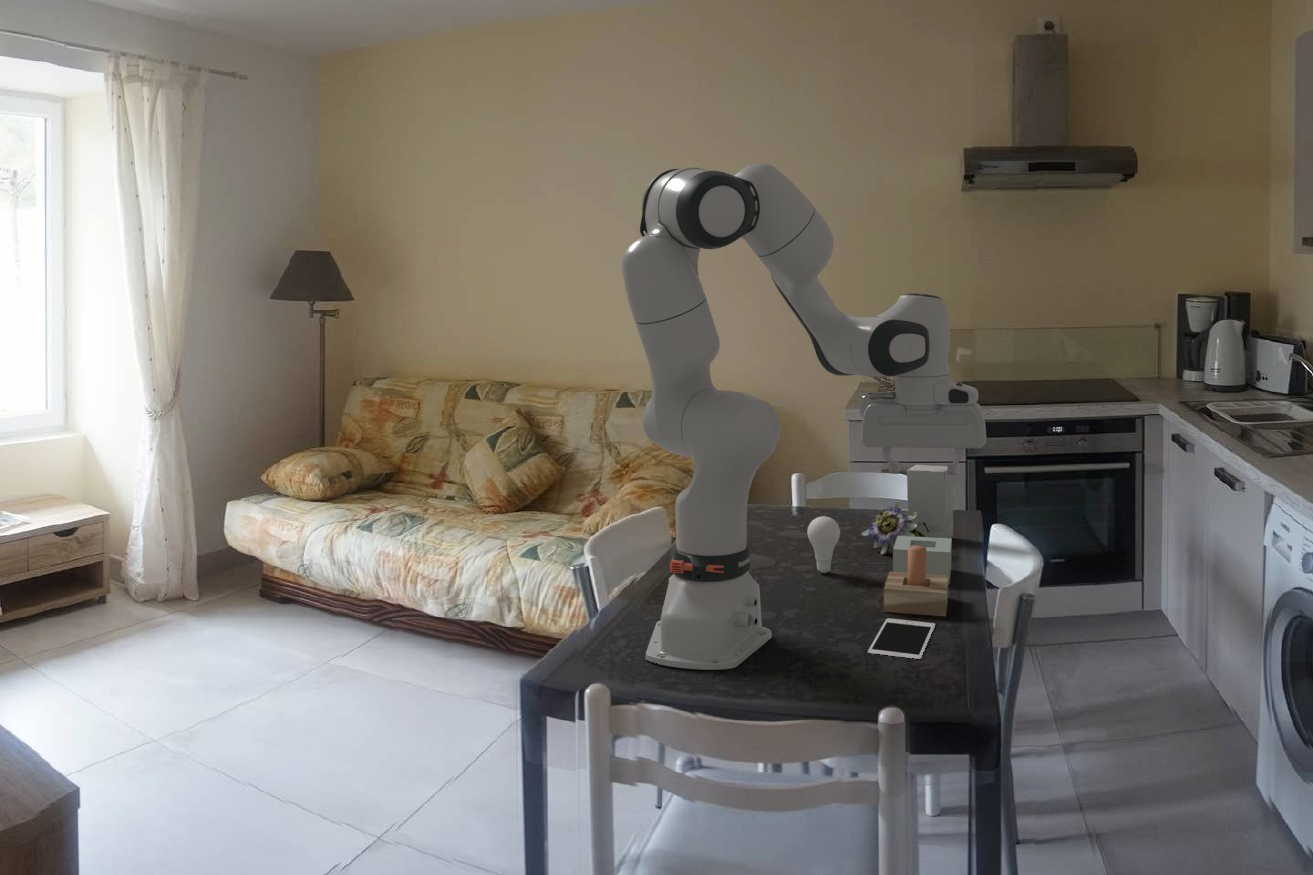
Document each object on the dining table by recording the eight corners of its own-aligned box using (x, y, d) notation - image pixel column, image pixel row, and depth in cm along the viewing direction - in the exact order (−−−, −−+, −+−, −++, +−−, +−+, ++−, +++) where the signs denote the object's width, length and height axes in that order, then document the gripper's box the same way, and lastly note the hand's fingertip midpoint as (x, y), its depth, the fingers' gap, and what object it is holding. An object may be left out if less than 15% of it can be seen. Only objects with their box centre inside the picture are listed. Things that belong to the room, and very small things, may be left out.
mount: (945, 616, 163) (946, 592, 162) (883, 611, 166) (883, 588, 165) (947, 597, 172) (948, 575, 171) (888, 593, 175) (889, 571, 174)
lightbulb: (839, 578, 185) (839, 520, 183) (806, 577, 186) (806, 520, 184) (840, 569, 191) (840, 513, 189) (808, 568, 192) (808, 512, 190)
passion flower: (884, 580, 201) (849, 532, 202) (903, 558, 209) (870, 511, 210) (927, 557, 194) (891, 507, 195) (945, 535, 202) (910, 487, 203)
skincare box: (953, 537, 212) (955, 466, 209) (944, 545, 206) (946, 471, 204) (915, 533, 216) (916, 463, 214) (905, 540, 210) (906, 468, 208)
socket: (949, 584, 179) (950, 552, 178) (892, 580, 183) (893, 549, 182) (951, 569, 189) (951, 538, 188) (897, 565, 192) (897, 535, 191)
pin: (925, 608, 167) (925, 550, 165) (906, 606, 168) (907, 549, 166) (925, 602, 170) (926, 545, 168) (907, 601, 171) (908, 544, 169)
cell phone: (935, 626, 159) (935, 623, 159) (920, 662, 144) (920, 658, 144) (886, 621, 162) (886, 617, 162) (867, 656, 147) (867, 652, 147)
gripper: (856, 394, 165) (857, 476, 167) (985, 393, 158) (985, 478, 160) (861, 390, 171) (863, 468, 173) (986, 389, 164) (986, 471, 166)
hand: (923, 473), depth 167 cm, fingers open, 8 cm apart
